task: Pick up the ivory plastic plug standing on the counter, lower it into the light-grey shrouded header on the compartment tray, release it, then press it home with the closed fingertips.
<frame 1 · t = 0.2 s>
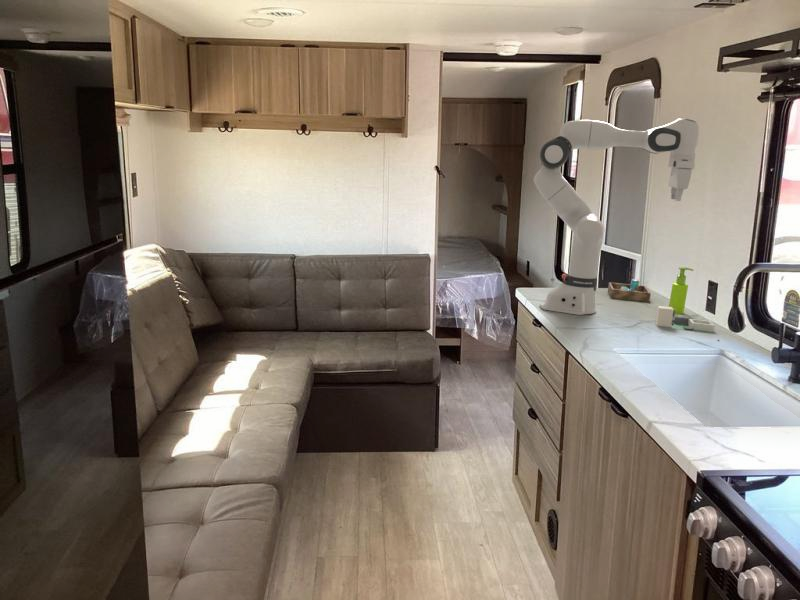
hand: (675, 200, 247), 47 cm above the counter, fingers open, 8 cm apart
teal container: (628, 296, 298), resting in wooden tray
wooden tray: (627, 296, 298), on the counter
compartment tray: (690, 329, 244), on the counter
plug: (662, 328, 244), on the counter
fan: (680, 322, 249), resting on compartment tray
soap dispenser: (676, 315, 266), on the counter
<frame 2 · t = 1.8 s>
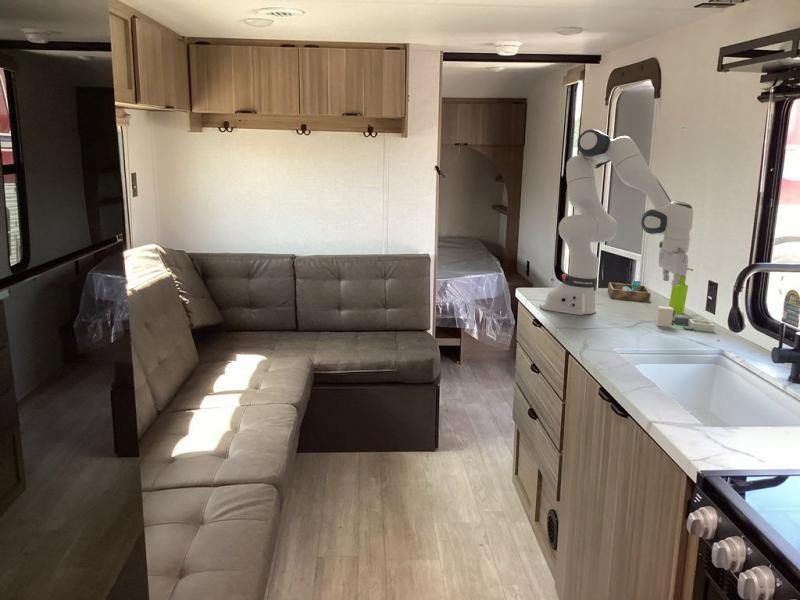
hand: (669, 283, 240), 17 cm above the counter, fingers open, 8 cm apart
nothing on the counter moved.
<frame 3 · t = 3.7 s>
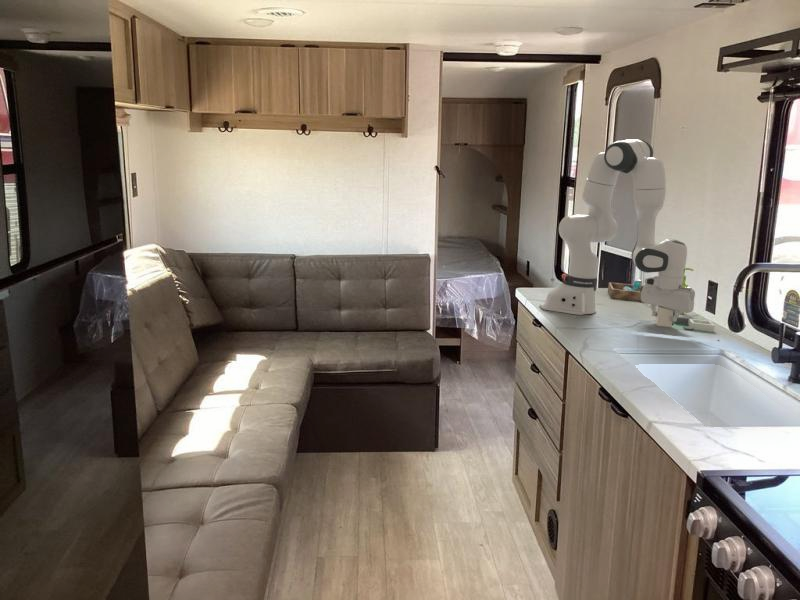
hand: (663, 318, 243), 4 cm above the counter, fingers closed on plug, 6 cm apart
teal container: (631, 297, 298), resting in wooden tray
plug: (662, 328, 244), on the counter, touching gripper
everything else where it was.
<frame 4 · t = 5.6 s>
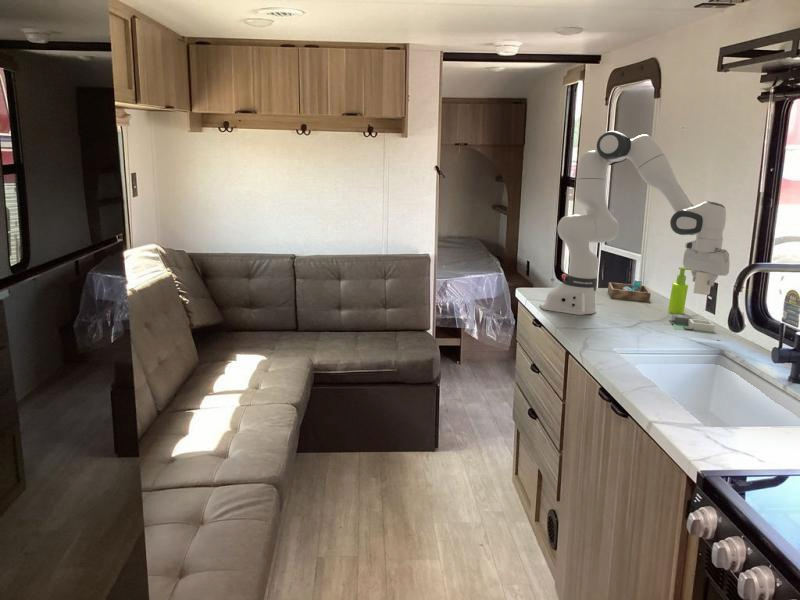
hand: (702, 283, 238), 18 cm above the counter, fingers closed on plug, 6 cm apart
teal container: (631, 296, 298), resting in wooden tray
plug: (701, 293, 239), point 15 cm above the counter, touching gripper
everything else where it was.
when the fingers open (5 cm above the counter, at t = 7.8 s): plug stays where it is, resting on compartment tray.
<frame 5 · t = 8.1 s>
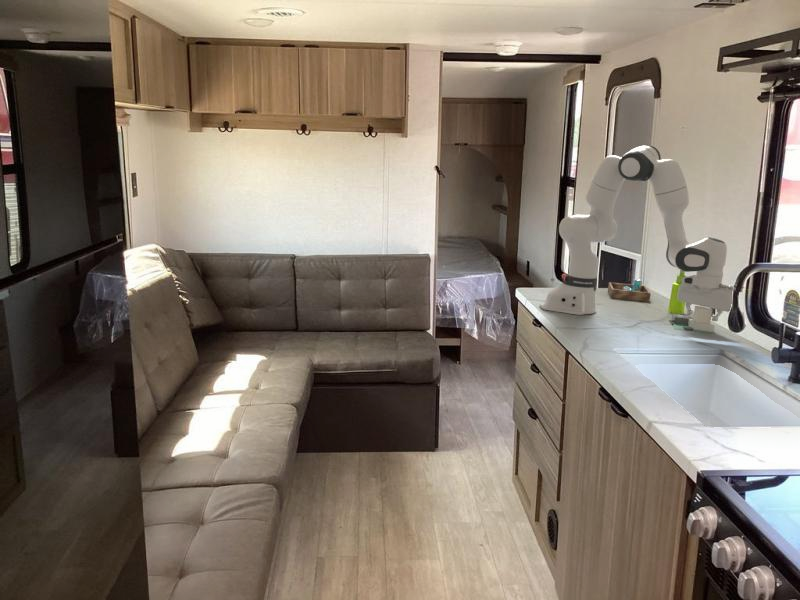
hand: (702, 317, 241), 5 cm above the counter, fingers open, 8 cm apart
plug: (700, 328, 242), point 1 cm above the counter, touching compartment tray
everything else where it was.
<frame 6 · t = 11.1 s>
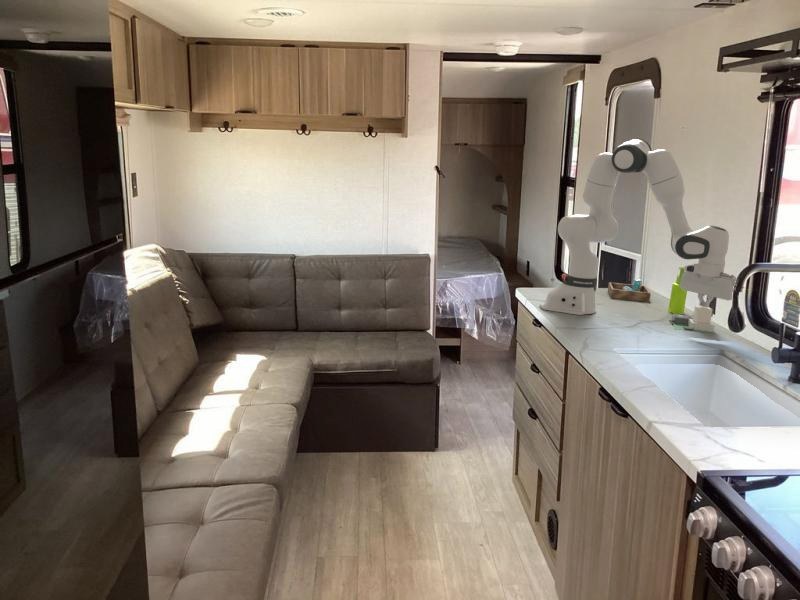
hand: (703, 306, 240), 10 cm above the counter, fingers closed
nothing on the counter moved.
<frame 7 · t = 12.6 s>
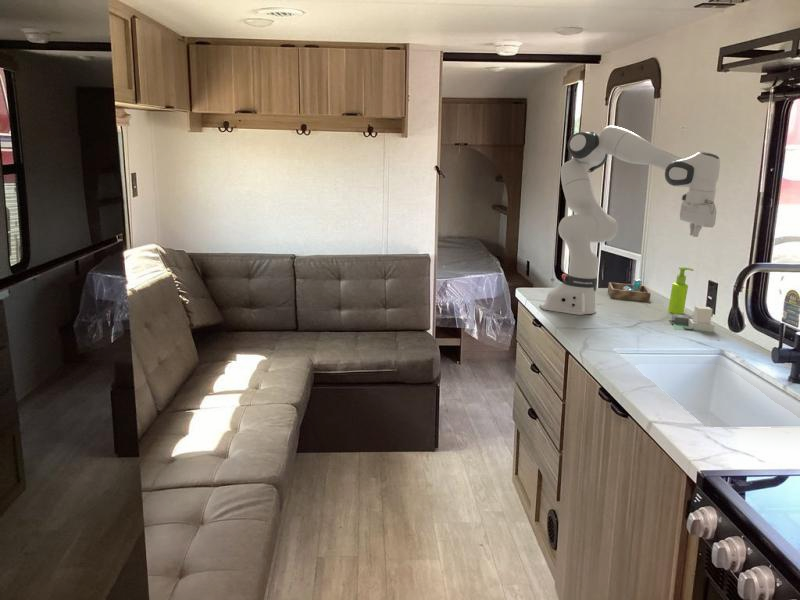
hand: (693, 236, 236), 35 cm above the counter, fingers closed
nothing on the counter moved.
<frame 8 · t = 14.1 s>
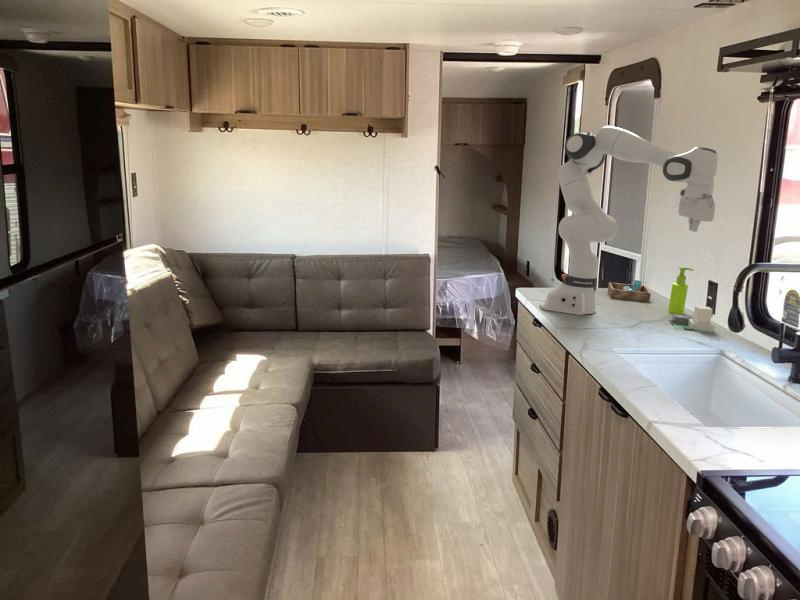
hand: (692, 231, 236), 37 cm above the counter, fingers closed
teal container: (630, 296, 299), resting in wooden tray
everything else where it was.
at the end: plug 0.1 cm from the target spot on the compartment tray, point 1.2 cm above the compartment tray's base; plug tilted 0°; the gripper is holding nothing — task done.
